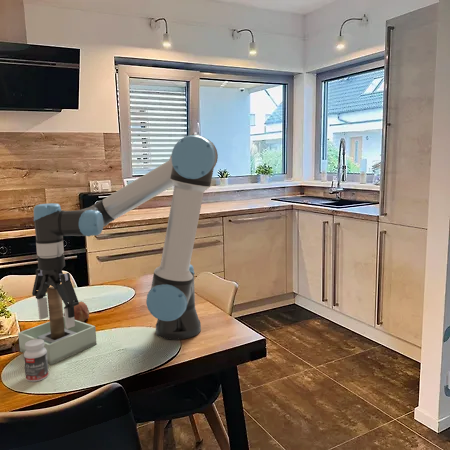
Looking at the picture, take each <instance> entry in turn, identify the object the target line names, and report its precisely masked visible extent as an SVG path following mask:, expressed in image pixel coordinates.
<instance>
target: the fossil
mask: <svg viewBox="0 0 450 450" xmlns="http://www.w3.org/2000/svg"><path fill="white" fill-rule="evenodd" d="M78 302H79V304H78V305H76V306H74V314H75V316H74V320H77V321H80V322H84V323H85V321H86V320H87V319H89V318H90V311H89V307H88V305H87V304H86V303H85V302H84V301H78ZM63 316H65V315H64V314H63Z"/></svg>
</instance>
